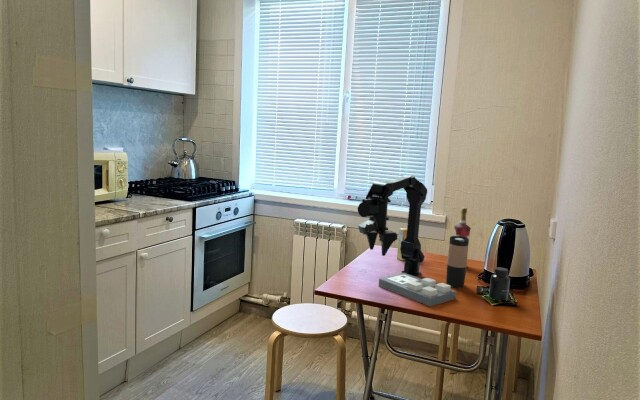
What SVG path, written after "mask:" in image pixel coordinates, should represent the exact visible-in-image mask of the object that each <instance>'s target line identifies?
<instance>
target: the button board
mask: <svg viewBox="0 0 640 400" xmlns="http://www.w3.org/2000/svg"><path fill="white" fill-rule="evenodd" d="M421 279H422V278H419V277H417V276H416V275H415V276H412V275H409V274H406V273H402V272H401V273H397V274H393V275H389V276H384V277H380V278H378V287H381V288H383V289H385V290H389V291H390V292H393V293H395V294H398V295H400V296H403V297H405V298H407V299H410V300H413V301H415V302H418V303H420V304H422V303H423V305H425V306H428V307H433V306H437V305H440V304H443V303H446V302H449V301H453V300H456V296H457V291H456V290H454V289H452V288H451V289H450V292H446V293H442V292H439V291H437V295H436V296H433V297H428V296H426V295H423V294H421V293H422V290H419V291H413V290H410V289H408V288H407V283H408V282H412V281H416V282H419V283H421ZM435 286H436V285H435ZM435 286H433V287H432V288H435ZM424 287H426V286H423V285H422V288H424Z"/></svg>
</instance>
